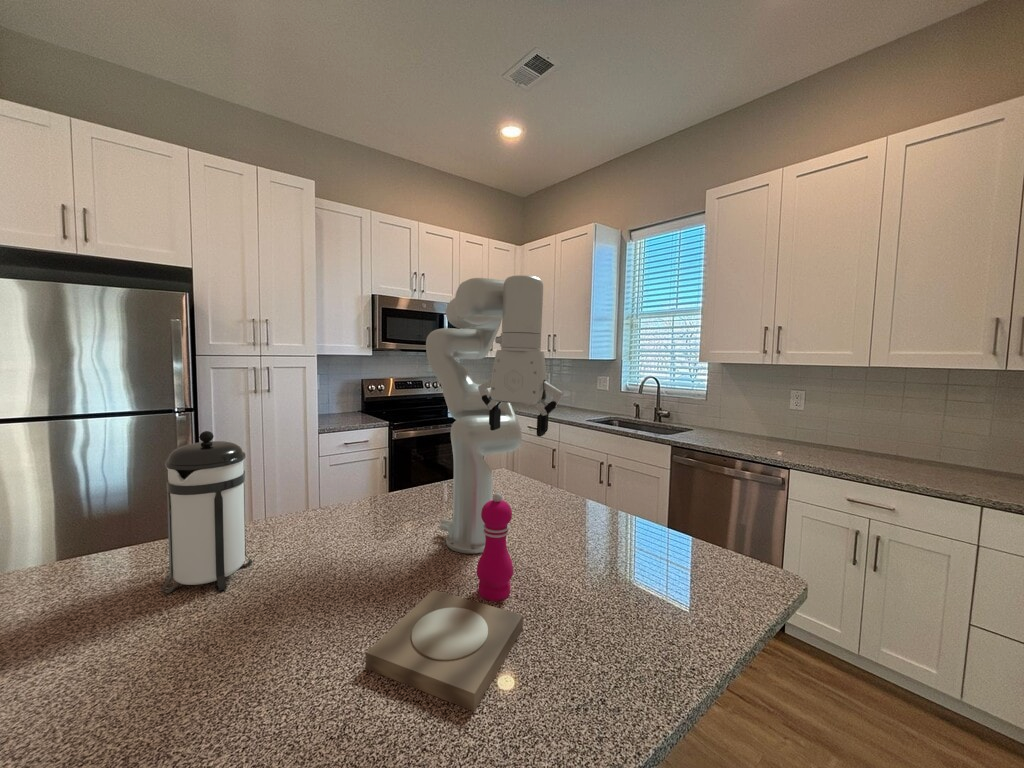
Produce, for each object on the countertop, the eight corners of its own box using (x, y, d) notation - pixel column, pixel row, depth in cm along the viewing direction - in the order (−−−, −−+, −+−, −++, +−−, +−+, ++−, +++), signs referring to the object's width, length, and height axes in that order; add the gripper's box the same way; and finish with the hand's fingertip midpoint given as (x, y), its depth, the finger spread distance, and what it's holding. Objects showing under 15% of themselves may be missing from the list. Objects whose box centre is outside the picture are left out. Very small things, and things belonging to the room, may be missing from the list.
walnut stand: (365, 668, 61) (365, 650, 61) (433, 602, 78) (433, 588, 78) (474, 711, 55) (474, 691, 54) (522, 629, 71) (523, 613, 71)
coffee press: (269, 576, 85) (267, 431, 83) (168, 610, 73) (163, 442, 71) (244, 547, 97) (242, 420, 94) (154, 572, 85) (149, 428, 83)
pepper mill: (517, 586, 84) (520, 490, 83) (505, 606, 77) (508, 501, 76) (484, 578, 87) (487, 485, 85) (469, 597, 80) (472, 496, 78)
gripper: (471, 341, 79) (468, 430, 80) (558, 344, 72) (554, 441, 73) (489, 342, 85) (486, 424, 87) (570, 345, 79) (566, 434, 80)
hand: (517, 432), depth 80 cm, fingers open, 9 cm apart
